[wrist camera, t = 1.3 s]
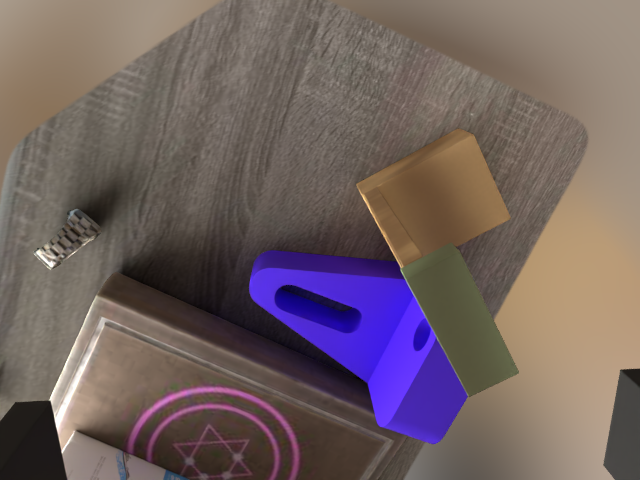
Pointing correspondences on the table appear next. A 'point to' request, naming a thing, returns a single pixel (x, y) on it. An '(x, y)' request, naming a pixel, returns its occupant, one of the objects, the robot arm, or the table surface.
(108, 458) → the ink box
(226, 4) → the table surface
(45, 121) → the table surface
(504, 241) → the table surface
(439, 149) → the two-tone angled block
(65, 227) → the wristwatch
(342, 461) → the book
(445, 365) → the bracket
